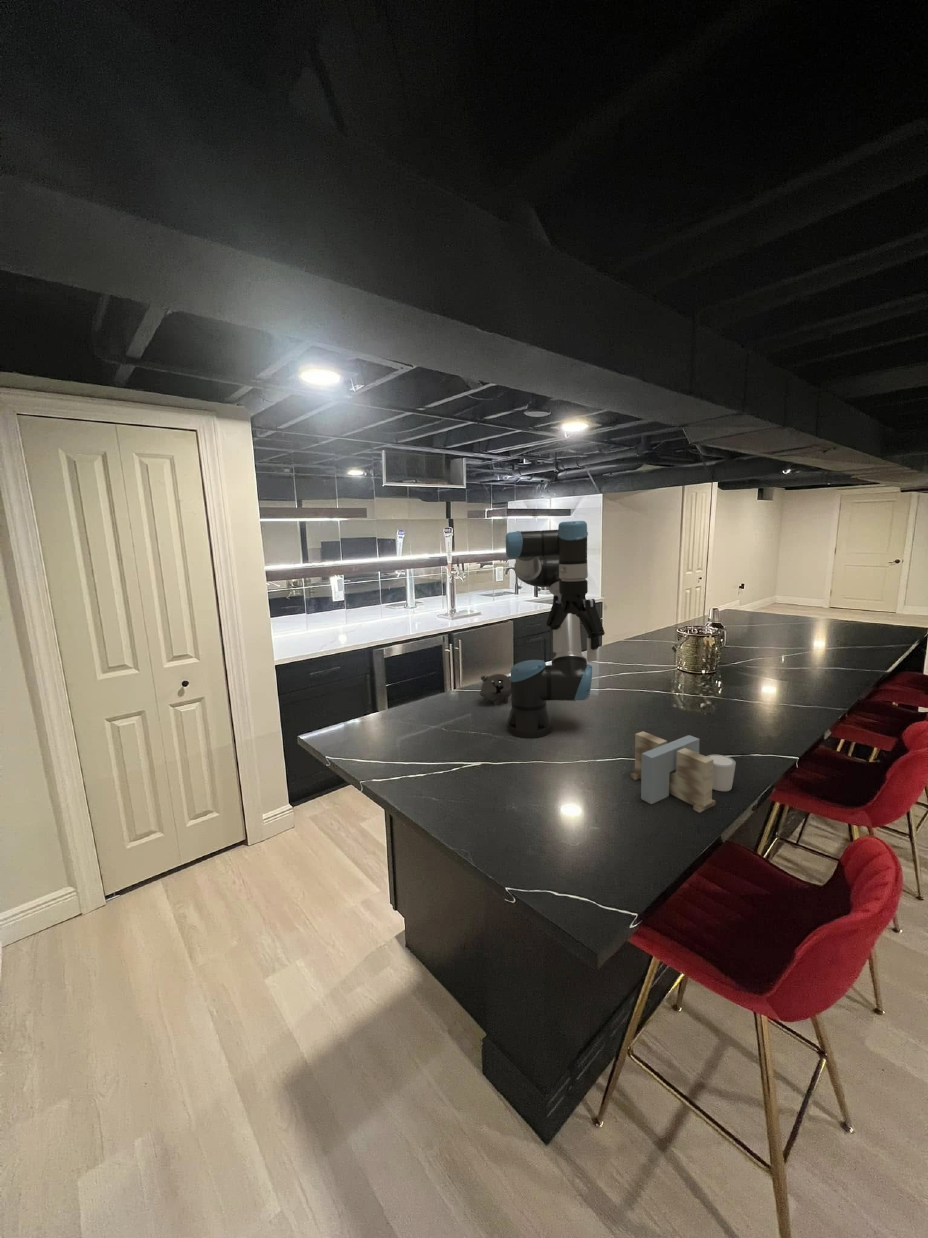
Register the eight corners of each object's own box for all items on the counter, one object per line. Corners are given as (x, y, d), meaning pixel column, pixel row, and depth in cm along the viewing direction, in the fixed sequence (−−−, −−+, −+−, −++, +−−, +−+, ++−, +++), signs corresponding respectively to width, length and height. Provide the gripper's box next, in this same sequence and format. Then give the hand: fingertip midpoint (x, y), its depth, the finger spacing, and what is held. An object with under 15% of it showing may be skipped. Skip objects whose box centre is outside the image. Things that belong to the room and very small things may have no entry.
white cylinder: (707, 776, 127) (708, 751, 126) (737, 783, 123) (738, 758, 121) (701, 787, 122) (702, 761, 120) (731, 795, 117) (732, 769, 116)
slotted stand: (630, 777, 128) (631, 735, 126) (646, 771, 131) (646, 729, 129) (699, 812, 111) (701, 764, 109) (715, 804, 114) (717, 757, 112)
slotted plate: (651, 804, 115) (652, 758, 113) (641, 799, 118) (641, 753, 116) (697, 782, 124) (699, 739, 122) (687, 777, 127) (688, 735, 125)
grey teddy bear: (473, 703, 191) (472, 675, 189) (504, 695, 198) (503, 668, 196) (489, 711, 181) (487, 682, 179) (520, 702, 189) (519, 674, 187)
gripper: (533, 578, 137) (535, 650, 141) (597, 583, 116) (597, 668, 120) (553, 576, 141) (554, 646, 145) (619, 580, 120) (618, 662, 123)
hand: (573, 656), depth 132 cm, fingers open, 13 cm apart
